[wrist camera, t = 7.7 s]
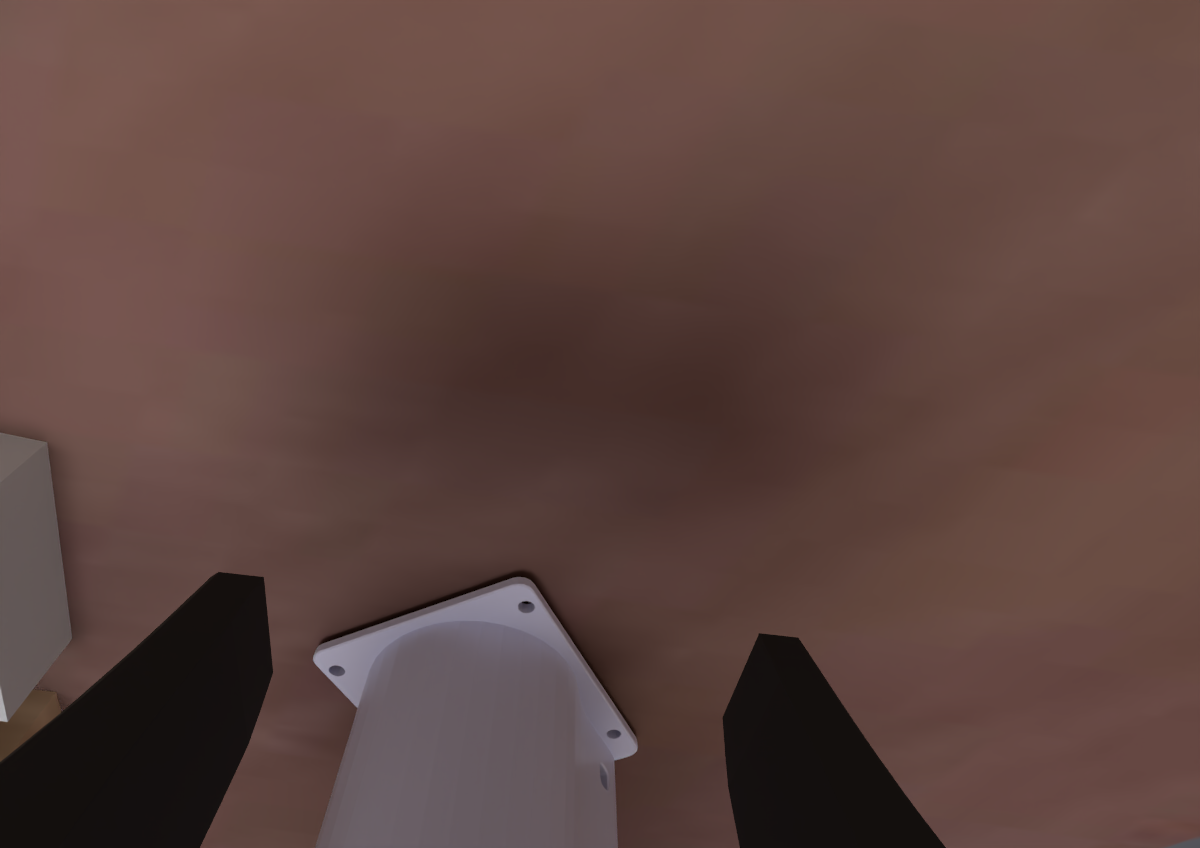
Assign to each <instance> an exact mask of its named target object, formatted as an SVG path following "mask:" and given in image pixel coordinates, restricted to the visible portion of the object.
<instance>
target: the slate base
mask: <svg viewBox="0 0 1200 848" xmlns="http://www.w3.org/2000/svg"><path fill="white" fill-rule="evenodd" d="M71 640H72V632H71V624H70V617H69V609H68V601H67V593H66V585H65V578H64V570H63V562H62V554H61V546H60V539H59V531H58V523H57V515H56V507H55V499H54V492H53V484H52V476H51V468H50V460H49V453H48V445H47V442H43V441H38V440H34V439H29V438H24V437H19V436H14V435H9V434H4V433H0V721H4V722H8V721H9V720H10V718H11V717H12V716H13V715H14V713H15V712H16V711H17V709H18V708H19V707H20V706H21V704H22V703H23V702H24V700H25V699H26V698H27V696H28V695H29V694H30V693H31V691H32V690H33V689H34V687H35V686H36V685H37V684H38V682H39V681H40V680H41V678H42V677H43V676H44V674H45V673H46V672H47V671H48V669H49V668H50V667H51V665H52V664H53V663H54V662H55V660H56V659H57V658H58V656H59V655H60V654H61V653H62V651H63V650H64V649H65V647H66V646H67V645H68V643H69V642H70V641H71Z"/></svg>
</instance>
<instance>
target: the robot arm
mask: <svg viewBox="0 0 1200 848" xmlns="http://www.w3.org/2000/svg"><path fill="white" fill-rule="evenodd" d="M523 601H529V602H532V603H531V604H525V603H522V602H523ZM313 661H314V663H315V664H316V665H317V666H318V668H319V669H320V670H321V671H322V672H323V673H324V674H325V675H326V676H327V677H328V678H329V679H330V680H331V681H332V682H333V683H334V684H335V685H336V686H337V687H338V688H339V689H340V690H341V691H342V693H343V694H344V695H345V696H346V697H347V698H348V699H349V700H350V701H351V702H352V703H353V704H354V705H355V706H356V707H357V708H358V709H357V712H356V716H355V719H354V722H353V725H352V729H351V732H350V735H349V738H348V742H347V745H346V748H345V751H344V755H343V758H342V761H341V764H340V768H339V771H338V774H337V777H336V781H335V784H334V787H333V791H332V794H331V797H330V800H329V804H328V807H327V810H326V813H325V817H324V820H323V823H322V826H321V830H320V833H319V836H318V839H317V843H316V846H315V848H618V836H617V811H616V787H615V763H614V761H615V760H618V759H622V758H625V757H629V756H631V755H633V754H634V753H635V752H637V749H638V744H637V738H636V736H635V735H634V733H633V732H632V730H631V729H630V727H629V726H628V724H627V723H626V721H625V720H624V718H623V717H622V715H621V714H620V712H619V711H618V709H617V708H616V706H615V705H614V703H613V702H612V700H611V699H610V697H609V696H608V694H607V693H606V691H605V690H604V688H603V687H602V685H601V684H600V682H599V681H598V679H597V678H596V676H595V675H594V673H593V672H592V670H591V669H590V667H589V665H588V664H587V662H586V661H585V659H584V658H583V656H582V655H581V653H580V652H579V650H578V649H577V647H576V646H575V644H574V643H573V641H572V640H571V638H570V637H569V635H568V634H567V632H566V631H565V629H564V628H563V626H562V625H561V623H560V622H559V620H558V619H557V617H556V616H555V614H554V613H553V611H552V610H551V608H550V607H549V605H548V604H547V602H546V601H545V599H544V598H543V596H542V595H541V593H540V592H539V590H538V589H537V587H536V586H535V584H534V583H533V582H532V581H531V580H529V579H527V578H525V577H514V578H511V579H508V580H505V581H502V582H499V583H496V584H493V585H490V586H488V587H485V588H482V589H479V590H476V591H473V592H470V593H467V594H464V595H462V596H459V597H456V598H453V599H450V600H447V601H444V602H441V603H438V604H436V605H433V606H430V607H427V608H424V609H421V610H418V611H415V612H412V613H410V614H407V615H404V616H401V617H398V618H395V619H392V620H389V621H386V622H384V623H381V624H378V625H375V626H372V627H369V628H366V629H363V630H360V631H357V632H355V633H352V634H349V635H346V636H343V637H340V638H337V639H334V640H331V641H329V642H326V643H323V644H321V645H319V646H318V647H317V649H316V651H315V653H314V656H313ZM272 674H273V667H272V657H271V647H270V636H269V626H268V616H267V605H266V595H265V585H264V577H257V576H248V575H240V574H231V573H222V572H218V573H216V574H215V575H213V576H212V577H210V578H209V579H208V580H207V581H206V582H205V583H204V584H203V585H202V586H201V587H200V588H199V589H198V590H197V591H196V592H195V593H194V594H193V595H192V596H190V597H189V598H188V599H187V600H186V601H185V602H184V603H183V604H182V605H181V606H180V607H179V608H178V609H177V610H176V611H175V612H174V613H173V614H171V615H170V616H169V617H168V618H167V619H166V620H165V621H164V622H163V623H162V624H161V625H160V626H159V627H158V628H156V629H155V630H154V631H153V632H152V633H151V634H150V635H149V636H148V637H147V638H146V639H144V640H143V641H142V642H141V643H140V644H139V645H138V646H137V647H136V648H135V649H133V650H132V651H131V652H130V653H129V654H128V655H127V656H126V657H125V658H123V659H122V660H121V661H120V662H119V663H118V664H117V665H115V666H114V667H113V668H112V669H111V670H110V671H109V672H107V673H106V674H105V675H104V676H103V677H102V678H101V679H99V680H98V681H97V682H96V683H95V684H94V685H93V686H91V687H90V688H89V689H88V690H87V691H86V692H85V693H83V694H82V695H81V696H80V697H79V698H78V699H77V700H75V701H74V702H73V703H72V704H71V705H70V706H68V707H67V708H66V709H65V710H64V711H62V712H61V713H60V714H59V715H57V716H56V717H55V718H54V719H53V720H51V721H50V722H49V723H48V724H46V725H45V726H44V727H43V728H41V729H40V730H39V731H38V732H36V733H35V734H34V735H33V736H32V737H30V738H29V739H28V740H27V741H25V742H24V743H23V744H22V745H20V746H19V747H18V748H17V749H16V750H14V751H13V752H12V753H11V754H9V755H8V756H7V757H6V758H4V759H3V760H2V761H1V762H0V848H200V846H201V844H202V842H203V840H204V838H205V835H206V833H207V831H208V829H209V827H210V825H211V823H212V821H213V819H214V817H215V814H216V812H217V810H218V808H219V806H220V804H221V802H222V800H223V798H224V795H225V793H226V791H227V789H228V787H229V785H230V783H231V780H232V778H233V776H234V774H235V772H236V770H237V768H238V766H239V763H240V761H241V759H242V757H243V755H244V753H245V750H246V748H247V746H248V744H249V741H250V738H251V735H252V733H253V730H254V727H255V724H256V721H257V718H258V716H259V713H260V710H261V707H262V704H263V701H264V698H265V695H266V692H267V689H268V686H269V683H270V680H271V677H272ZM723 728H724V742H725V756H726V766H727V777H728V787H729V793H730V798H731V803H732V809H733V814H734V819H735V824H736V829H737V834H738V840H739V845H740V848H946V847H945V846H944V845H943V843H942V842H941V841H940V840H939V838H938V837H937V836H936V834H935V833H934V832H933V831H932V829H931V828H930V827H929V825H928V824H927V823H926V822H925V820H924V819H923V818H922V816H921V815H920V814H919V812H918V811H917V810H916V808H915V807H914V806H913V804H912V803H911V802H910V800H909V799H908V798H907V796H906V795H905V794H904V792H903V791H902V789H901V788H900V787H899V785H898V784H897V782H896V781H895V780H894V778H893V777H892V775H891V774H890V773H889V771H888V770H887V768H886V767H885V766H884V764H883V763H882V761H881V760H880V759H879V757H878V756H877V754H876V753H875V751H874V750H873V749H872V747H871V746H870V744H869V743H868V741H867V740H866V739H865V737H864V736H863V734H862V733H861V731H860V730H859V728H858V727H857V725H856V724H855V722H854V721H853V719H852V718H851V716H850V715H849V713H848V712H847V710H846V709H845V707H844V706H843V705H842V703H841V702H840V700H839V699H838V697H837V695H836V694H835V692H834V691H833V689H832V688H831V686H830V685H829V683H828V682H827V680H826V679H825V677H824V676H823V674H822V673H821V671H820V670H819V668H818V667H817V665H816V664H815V662H814V661H813V659H812V658H811V656H810V655H809V653H808V652H807V650H806V649H805V647H804V646H803V644H802V643H801V641H800V640H799V638H795V637H786V636H778V635H769V634H760V633H759V635H758V638H757V640H756V642H755V645H754V647H753V649H752V651H751V654H750V656H749V658H748V661H747V663H746V665H745V667H744V670H743V672H742V674H741V677H740V679H739V681H738V684H737V686H736V688H735V690H734V693H733V695H732V697H731V700H730V702H729V704H728V706H727V709H726V711H725V713H724V716H723Z"/></svg>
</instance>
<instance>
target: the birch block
mask: <svg viewBox="0 0 1200 848" xmlns="http://www.w3.org/2000/svg"><path fill="white" fill-rule="evenodd" d="M60 713H61V709H60V705H59V701H58V698H57V694H56V692H51V691H42V690H32V691H31V693H30V694H29V695H28V696H27V698H26V699H25V700H24V702H23V703H22V704H21V706H20V707H19V708H18V709H17V711H16V712H15V713H14V715H13V716H12V717H11V718H10V720H9V721H8V722H4V721H0V762H1V761H2V760H3V759H4V758H6V757H7V756H8V755H9V754H11V753H12V752H13V751H14V750H16V749H17V748H18V747H19V746H20V745H22V744H23V743H24V742H25V741H27V740H28V739H29V738H30V737H32V736H33V735H34V734H35V733H36V732H38V731H39V730H40V729H41V728H43V727H44V726H45V725H46V724H48V723H49V722H50V721H51V720H53V719H54V718H55V717H56V716H57V715H59V714H60Z"/></svg>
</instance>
